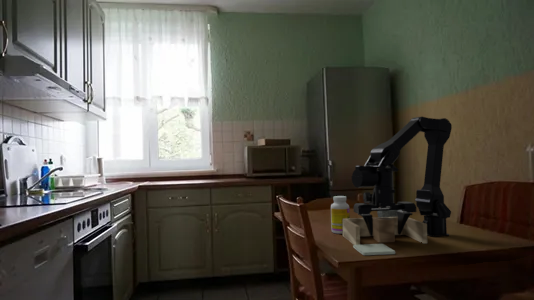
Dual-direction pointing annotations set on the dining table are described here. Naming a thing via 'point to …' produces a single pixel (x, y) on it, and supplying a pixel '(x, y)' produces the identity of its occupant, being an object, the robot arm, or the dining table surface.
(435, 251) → the dining table surface
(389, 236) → the block
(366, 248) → the tile
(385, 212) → the mortar and pestle
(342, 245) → the dining table surface
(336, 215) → the supplement bottle
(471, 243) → the dining table surface
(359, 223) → the wooden u-shaped frame
